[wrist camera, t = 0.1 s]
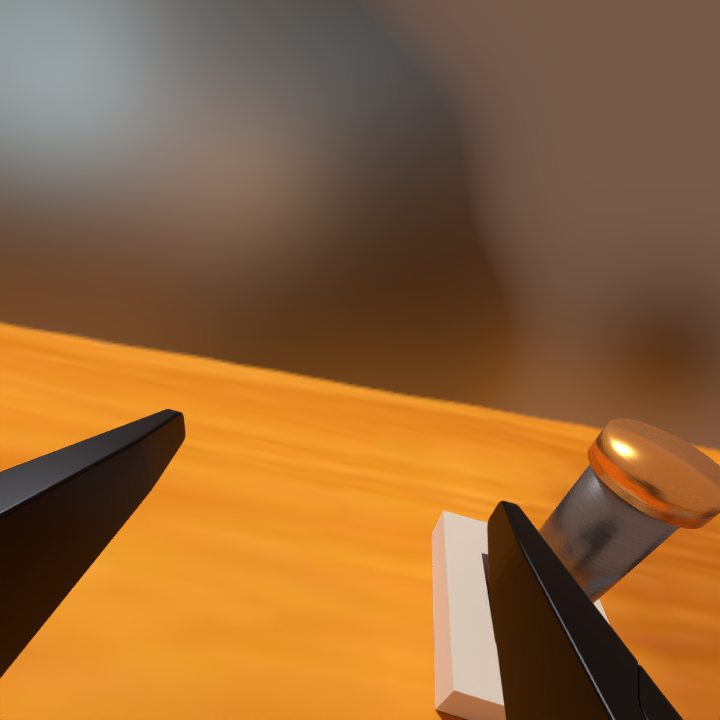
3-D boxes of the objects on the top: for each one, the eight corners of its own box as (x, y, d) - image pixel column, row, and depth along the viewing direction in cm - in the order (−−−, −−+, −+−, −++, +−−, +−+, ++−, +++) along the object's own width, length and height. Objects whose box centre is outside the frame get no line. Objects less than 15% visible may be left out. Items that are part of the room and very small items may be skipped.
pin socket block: (626, 769, 17) (664, 755, 15) (435, 709, 17) (453, 690, 16) (557, 569, 25) (577, 547, 24) (431, 533, 26) (443, 510, 24)
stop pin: (553, 680, 19) (772, 516, 11) (479, 658, 20) (643, 483, 12) (531, 598, 23) (684, 432, 15) (470, 581, 23) (589, 408, 15)
